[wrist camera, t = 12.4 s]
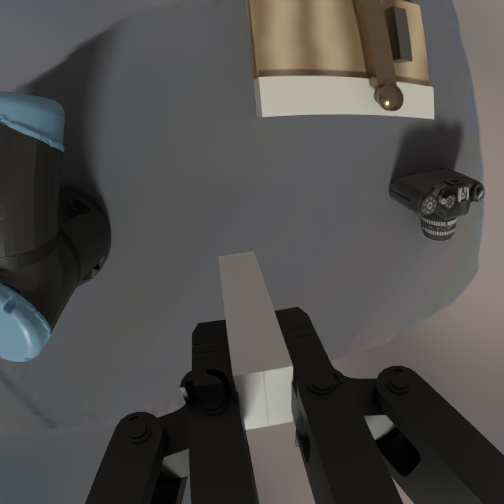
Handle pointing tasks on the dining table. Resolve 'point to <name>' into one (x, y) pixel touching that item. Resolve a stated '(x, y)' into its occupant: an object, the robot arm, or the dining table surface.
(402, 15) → the bar
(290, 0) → the door slab
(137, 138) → the dining table surface
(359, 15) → the swing bar
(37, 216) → the robot arm
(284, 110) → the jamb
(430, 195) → the camera
